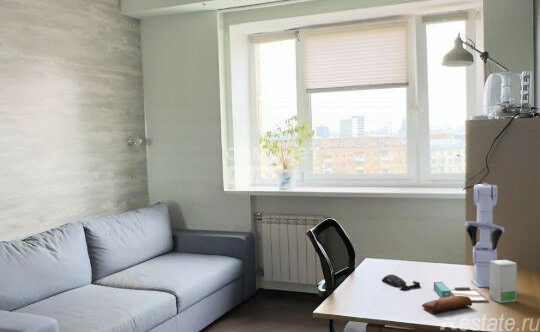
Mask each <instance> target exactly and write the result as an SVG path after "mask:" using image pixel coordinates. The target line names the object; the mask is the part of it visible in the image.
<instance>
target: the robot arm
mask: <svg viewBox="0 0 540 332" xmlns="http://www.w3.org/2000/svg"><path fill="white" fill-rule="evenodd" d="M473 203H474V205H475V206H476V221H474V220H473V221H470V220H466V221H465V222H464V227H465V228H466V232H467V234H468V236H469V238H470V241H471V246H472V262H473V264H474V265H473V269H472V270H473V273H472V274H473V276H472V279H470V280H471V283H473V284H474V285H475V286H477V287H478V288H490V261H495V260H498V249H497V246H498V242H499V240H500V238H501V236H502V234H505V226H499V225H497V224H494V223H493V220H494V218H493V215H494V214H493V212H494V211H493V208H494V207H495V206H496V205H497V203H498V185H496V184H488V182H483V183H482V184H481V183H480V184H474V186H473ZM478 229H479V241H478V242H477V233H478ZM491 232H492V234H491ZM491 241H492V242H491Z"/></svg>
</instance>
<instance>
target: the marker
mask: <svg viewBox="0 0 540 332" xmlns="http://www.w3.org/2000/svg"><path fill="white" fill-rule="evenodd" d="M450 290H451V289H450V288H449V287H448V286H447V285H446V284H445V283H444V282H443V281H434V282H433V291H434V292H435V293H436V295H437V296H438V297H439V298H443V297H450V296H451V291H450Z"/></svg>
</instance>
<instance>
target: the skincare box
mask: <svg viewBox="0 0 540 332" xmlns="http://www.w3.org/2000/svg"><path fill="white" fill-rule="evenodd" d="M517 273H518V272H517V262H514V261H511V260H508V259H497V260H495V261H490V287H489V292H488V293H489V299H490V300H492V301H495V302H497V303H498V304H502V303H511V302H516V301H517V276H518V275H517Z"/></svg>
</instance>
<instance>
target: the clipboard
mask: <svg viewBox="0 0 540 332" xmlns="http://www.w3.org/2000/svg"><path fill="white" fill-rule="evenodd" d="M450 291H451V296H466V297H469V298H470V299H471V301H472V303H489V302H490V301H489V300H488V298H486V297H485V296H484V295H483V294H482V293H481V292H479V290H478V289H471V287H469V286H463V287H461V286H459V287H454V289H450Z"/></svg>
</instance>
